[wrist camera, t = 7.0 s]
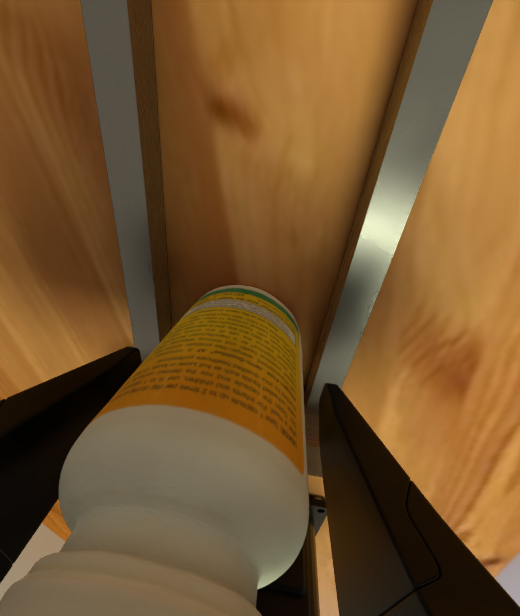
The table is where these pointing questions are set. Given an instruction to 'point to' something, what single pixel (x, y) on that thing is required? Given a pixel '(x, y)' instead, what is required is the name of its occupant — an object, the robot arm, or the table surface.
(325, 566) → the table surface
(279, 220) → the table surface
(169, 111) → the table surface
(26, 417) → the robot arm
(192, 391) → the supplement bottle
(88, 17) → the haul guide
